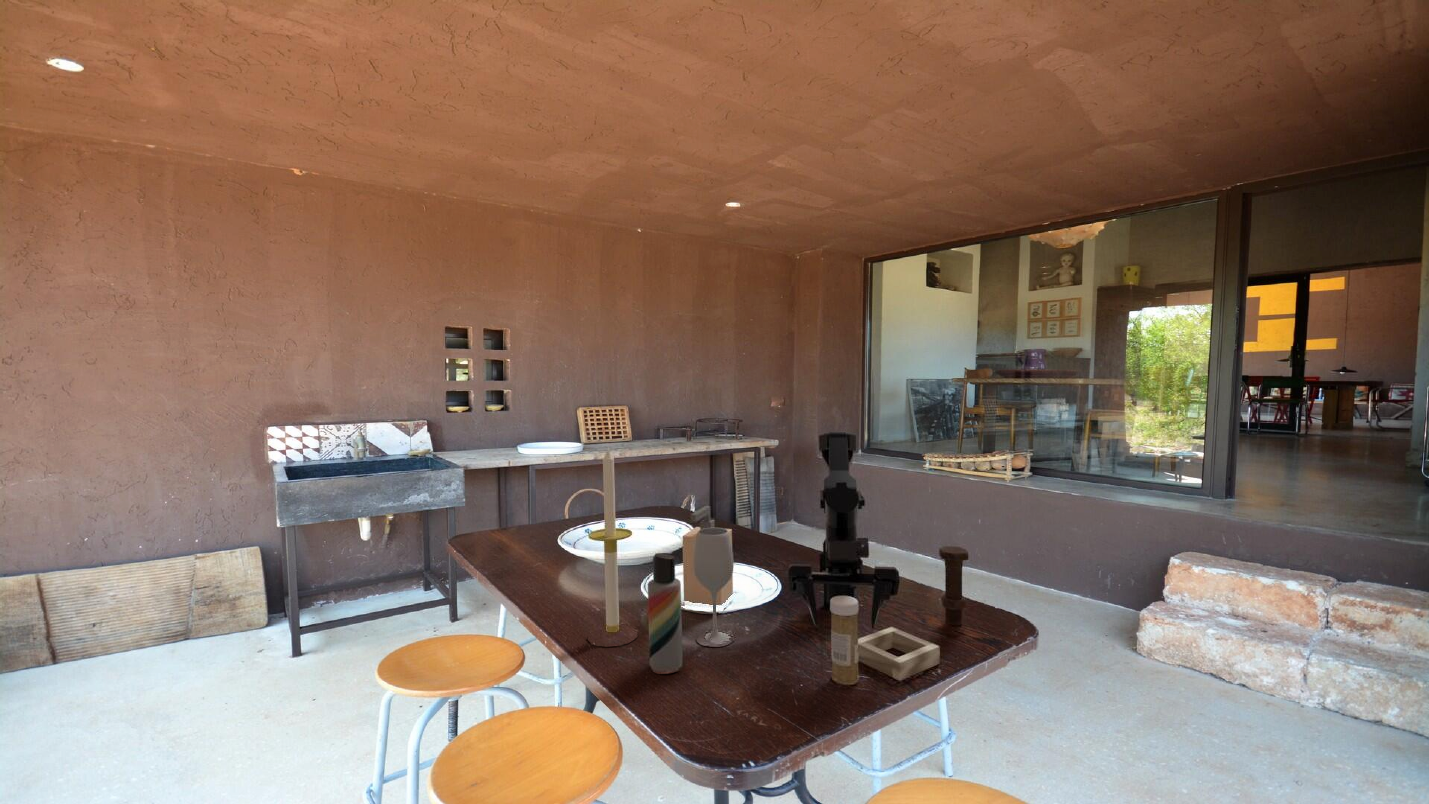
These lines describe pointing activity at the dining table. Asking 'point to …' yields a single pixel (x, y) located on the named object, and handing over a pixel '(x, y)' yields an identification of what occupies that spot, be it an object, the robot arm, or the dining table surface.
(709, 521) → the soap dispenser
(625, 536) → the candle
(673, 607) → the lotion bottle
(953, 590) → the bolt
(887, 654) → the collar
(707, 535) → the wineglass
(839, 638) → the sprinkles bottle
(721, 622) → the dining table surface
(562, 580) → the dining table surface
